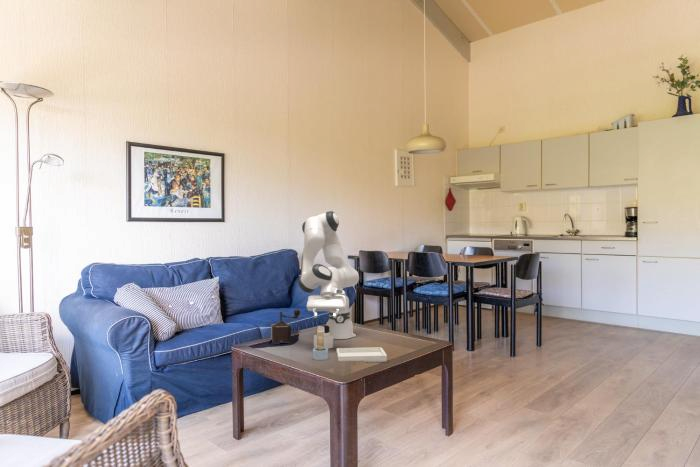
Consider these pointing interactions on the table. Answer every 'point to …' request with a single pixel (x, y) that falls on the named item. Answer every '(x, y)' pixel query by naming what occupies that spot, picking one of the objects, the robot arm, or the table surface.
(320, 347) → the dowel
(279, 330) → the brown coffee grinder
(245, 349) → the table surface
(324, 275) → the robot arm
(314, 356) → the cup
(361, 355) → the tray
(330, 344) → the medicine bottle
